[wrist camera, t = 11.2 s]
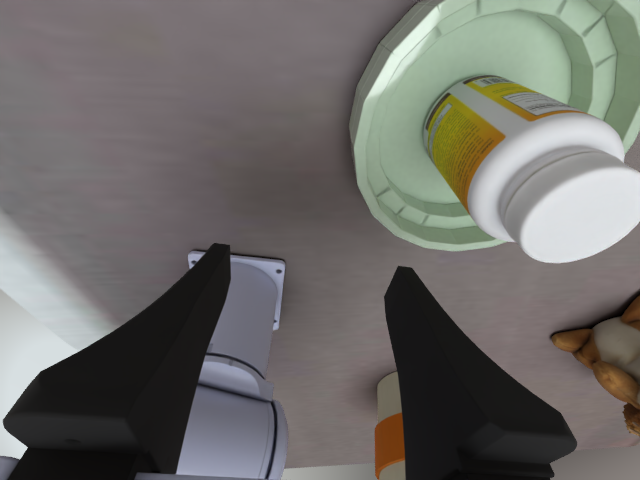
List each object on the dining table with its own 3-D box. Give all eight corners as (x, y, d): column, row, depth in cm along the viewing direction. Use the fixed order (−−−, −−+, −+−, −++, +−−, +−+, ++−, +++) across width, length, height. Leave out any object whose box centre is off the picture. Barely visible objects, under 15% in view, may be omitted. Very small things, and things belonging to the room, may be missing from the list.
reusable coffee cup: (421, 412, 45) (457, 558, 33) (346, 396, 42) (357, 552, 30) (482, 373, 38) (555, 541, 26) (397, 350, 35) (437, 531, 23)
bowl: (510, 226, 24) (538, 261, 21) (331, 204, 23) (333, 237, 19) (662, -3, 15) (751, -2, 12) (385, -61, 14) (404, -79, 11)
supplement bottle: (437, 181, 21) (511, 297, 13) (406, 107, 18) (479, 199, 10) (525, 139, 19) (675, 243, 11) (508, 49, 16) (698, 102, 8)
